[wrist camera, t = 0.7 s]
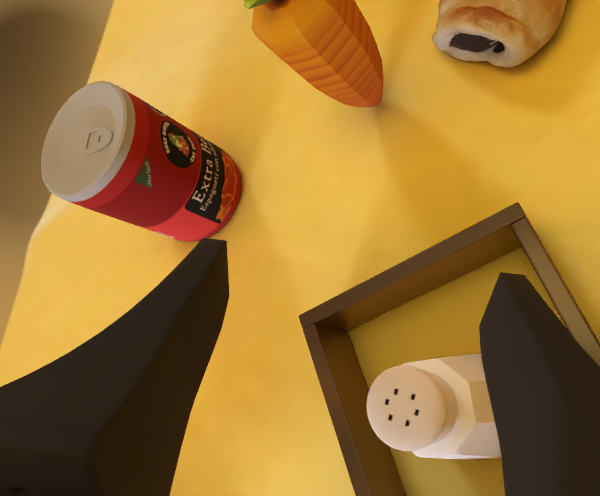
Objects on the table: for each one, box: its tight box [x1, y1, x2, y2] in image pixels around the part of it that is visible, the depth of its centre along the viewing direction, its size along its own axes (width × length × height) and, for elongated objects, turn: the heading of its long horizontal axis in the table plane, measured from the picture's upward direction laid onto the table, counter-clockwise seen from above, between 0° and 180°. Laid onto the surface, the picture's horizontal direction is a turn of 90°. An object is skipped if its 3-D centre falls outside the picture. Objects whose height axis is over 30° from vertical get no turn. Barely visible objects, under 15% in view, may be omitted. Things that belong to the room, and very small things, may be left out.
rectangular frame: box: [299, 202, 600, 496], centre depth 25 cm, size 15×13×4 cm
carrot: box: [244, 0, 383, 107], centre depth 28 cm, size 5×5×15 cm
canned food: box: [41, 81, 241, 241], centre depth 36 cm, size 8×8×11 cm
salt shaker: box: [366, 353, 502, 460], centre depth 22 cm, size 5×5×11 cm
